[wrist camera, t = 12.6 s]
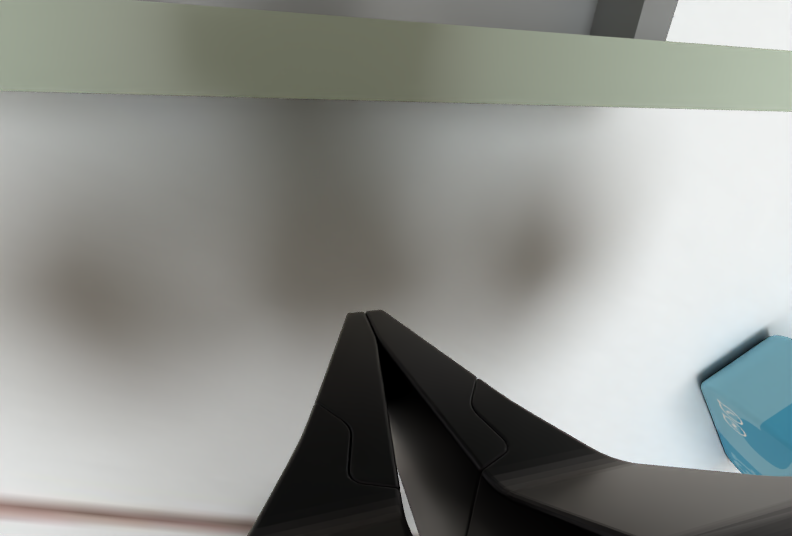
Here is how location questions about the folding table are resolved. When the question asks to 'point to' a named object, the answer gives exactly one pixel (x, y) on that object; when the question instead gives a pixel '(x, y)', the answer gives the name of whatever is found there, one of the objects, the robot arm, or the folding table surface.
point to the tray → (385, 52)
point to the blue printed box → (755, 408)
